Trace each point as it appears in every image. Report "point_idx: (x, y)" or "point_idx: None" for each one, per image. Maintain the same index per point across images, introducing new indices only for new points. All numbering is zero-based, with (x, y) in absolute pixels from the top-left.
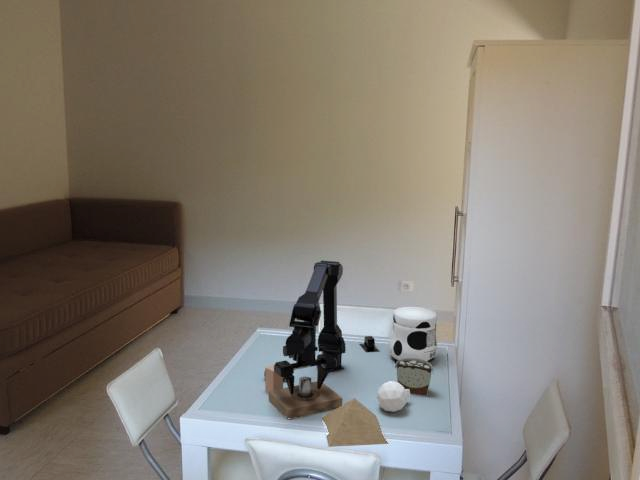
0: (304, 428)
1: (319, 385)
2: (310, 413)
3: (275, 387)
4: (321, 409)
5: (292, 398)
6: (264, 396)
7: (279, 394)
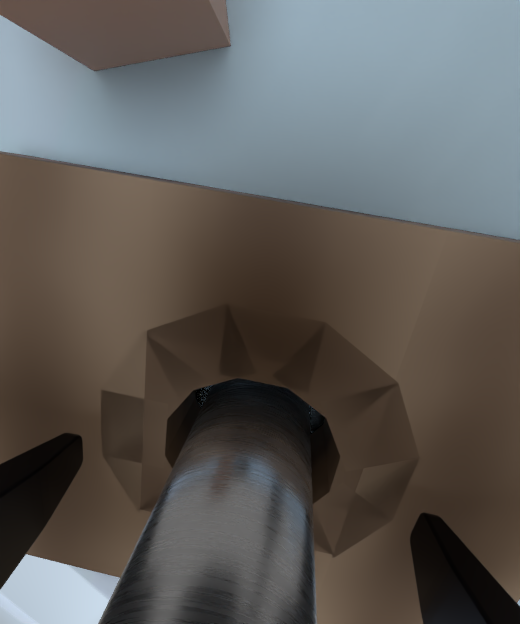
0: (94, 578)
1: (422, 607)
2: None
3: (67, 22)
4: None
5: (96, 442)
6: (2, 37)
7: (8, 301)
